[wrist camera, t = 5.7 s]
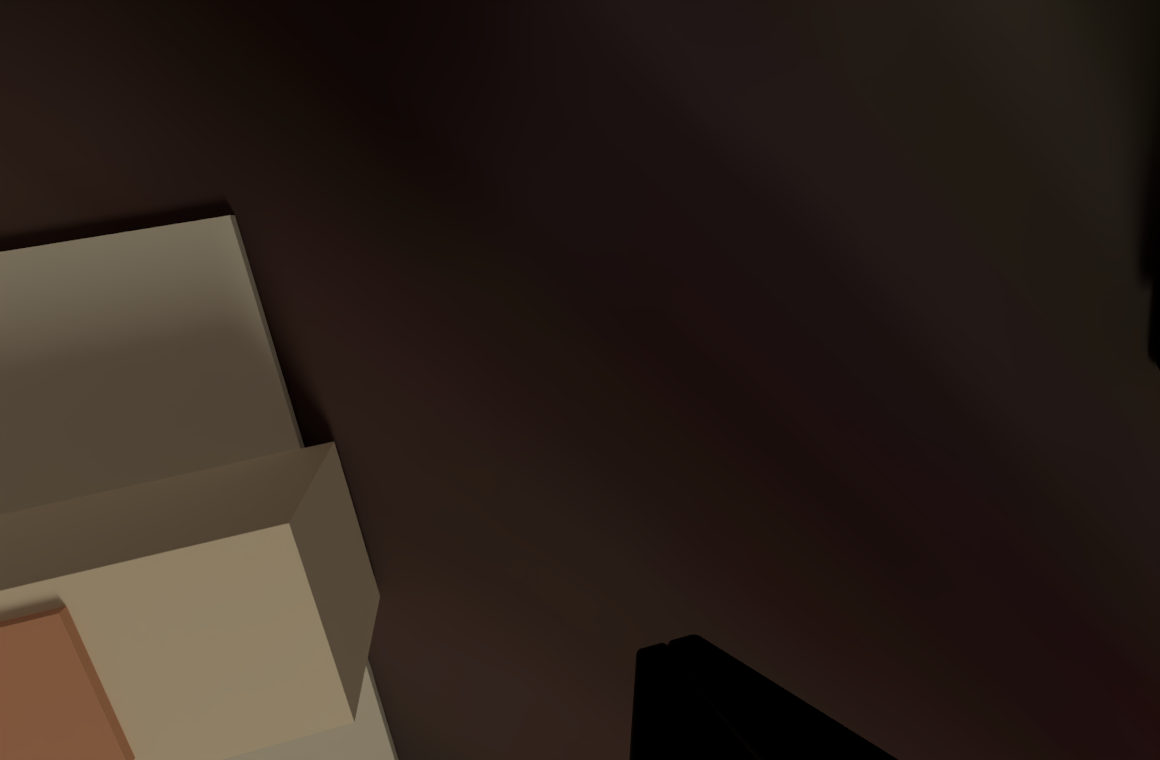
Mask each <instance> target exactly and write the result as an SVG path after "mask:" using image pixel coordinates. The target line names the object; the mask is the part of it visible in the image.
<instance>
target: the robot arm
mask: <svg viewBox="0 0 1160 760" xmlns="http://www.w3.org/2000/svg"><path fill="white" fill-rule="evenodd" d="M1157 365H1158V368H1159V369H1160V332H1159V343H1158V355H1157ZM630 760H898V759H896V758H895V757H893V756H891V755H890V754H888V753H887V752H885V751H883V750H882V749H880V748H878V747H877V746H875V745H874V744H872V743H870V742H869V741H867V740H866V739H864V738H862V737H861V736H859V735H858V734H856V733H854V732H853V731H851V730H850V729H848V728H846V727H845V726H843V725H842V724H840V723H838V722H837V721H835V720H834V719H832V718H830V717H829V716H827V715H826V714H824V713H822V712H821V711H819V710H818V709H816V708H814V707H813V706H811V705H810V704H808V703H806V702H805V701H803V700H801V699H800V698H798V697H797V696H795V695H793V694H792V693H790V692H789V691H787V690H785V689H784V688H782V687H781V686H779V685H777V684H776V683H774V682H773V681H771V680H769V679H768V678H766V677H765V676H763V675H761V674H760V673H758V672H757V671H755V670H753V669H752V668H750V667H749V666H747V665H745V664H744V663H742V662H741V661H739V660H737V659H736V658H734V657H733V656H731V655H729V654H728V653H726V652H725V651H723V650H721V649H720V648H718V647H716V646H715V645H713V644H712V643H710V642H708V641H707V640H705V639H704V638H702V637H700V636H698V635H695V634H694V635H689V636H685V637H681V638H678V639H674V640H671V641H670V642H669V643H668V646H667V645H666V644H664V643H659V644H656V645H652V646H649V647H645V648H641V649H639V650H638V651H637V654H636V669H635V684H634V699H633V714H632V729H631V744H630Z"/></svg>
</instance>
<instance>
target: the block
mask: <svg viewBox="0 0 1160 760" xmlns="http://www.w3.org/2000/svg"><path fill="white" fill-rule="evenodd" d="M379 598H380V595H379V592H378V588H377V585H376V581H375V578H374V575H373V571H372V568H371V564H370V561H369V558H368V554H367V551H366V547H365V544H364V541H363V537H362V534H361V531H360V527H359V524H358V520H357V517H356V514H355V510H354V507H353V503H352V500H351V497H350V493H349V490H348V487H347V483H346V480H345V476H344V473H343V470H342V466H341V463H340V459H339V456H338V453H337V449H336V446H335V442H329V443H325V444H320V445H315V446H311V447H306V448H302V449H297V450H293V451H288V452H283V453H279V454H274V455H270V456H265V457H261V458H256V459H252V460H247V461H242V462H238V463H233V464H229V465H224V466H220V467H215V468H211V469H206V470H201V471H197V472H192V473H188V474H183V475H179V476H174V477H170V478H165V479H160V480H156V481H151V482H147V483H142V484H138V485H133V486H128V487H124V488H119V489H115V490H110V491H106V492H101V493H97V494H92V495H87V496H83V497H78V498H74V499H69V500H65V501H60V502H56V503H51V504H46V505H42V506H37V507H33V508H28V509H24V510H19V511H15V512H10V513H5V514H1V515H0V760H223V759H226V758H230V757H233V756H237V755H240V754H244V753H247V752H251V751H255V750H258V749H262V748H265V747H269V746H272V745H276V744H280V743H283V742H287V741H290V740H294V739H297V738H301V737H305V736H308V735H312V734H315V733H319V732H322V731H326V730H329V729H333V728H337V727H340V726H344V725H347V724H351V723H354V722H355V717H356V712H357V707H358V702H359V698H360V693H361V688H362V683H363V678H364V673H365V668H366V663H367V658H368V653H369V648H370V643H371V638H372V633H373V628H374V623H375V618H376V613H377V608H378V603H379Z"/></svg>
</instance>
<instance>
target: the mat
mask: <svg viewBox="0 0 1160 760" xmlns="http://www.w3.org/2000/svg"><path fill="white" fill-rule="evenodd" d="M302 448H305V447H304V444H303V441H302V437H301V434H300V431H299V427H298V424H297V421H296V417H295V414H294V411H293V407H292V404H291V401H290V397H289V394H288V391H287V388H286V384H285V381H284V378H283V374H282V371H281V368H280V364H279V361H278V358H277V354H276V351H275V348H274V344H273V341H272V338H271V334H270V331H269V328H268V324H267V321H266V318H265V314H264V311H263V308H262V304H261V301H260V298H259V294H258V291H257V288H256V284H255V281H254V278H253V274H252V271H251V268H250V265H249V261H248V258H247V255H246V251H245V248H244V245H243V241H242V238H241V235H240V231H239V228H238V225H237V221H236V218H235V215H228V216H222V217H216V218H210V219H203V220H197V221H191V222H185V223H178V224H172V225H166V226H160V227H153V228H147V229H141V230H135V231H128V232H122V233H116V234H110V235H103V236H97V237H91V238H85V239H78V240H72V241H66V242H60V243H53V244H47V245H41V246H35V247H28V248H22V249H16V250H10V251H3V252H0V515H1V514H5V513H10V512H15V511H19V510H24V509H28V508H33V507H37V506H42V505H46V504H51V503H56V502H60V501H65V500H69V499H74V498H78V497H83V496H87V495H92V494H97V493H101V492H106V491H110V490H115V489H119V488H124V487H128V486H133V485H138V484H142V483H147V482H151V481H156V480H160V479H165V478H170V477H174V476H179V475H183V474H188V473H192V472H197V471H201V470H206V469H211V468H215V467H220V466H224V465H229V464H233V463H238V462H242V461H247V460H252V459H256V458H261V457H265V456H270V455H274V454H279V453H283V452H288V451H293V450H297V449H302ZM223 760H398V756H397V753H396V750H395V746H394V743H393V740H392V737H391V733H390V730H389V727H388V723H387V720H386V717H385V713H384V710H383V707H382V703H381V700H380V697H379V693H378V690H377V687H376V683H375V680H374V677H373V673H372V670H371V667H370V663H369V660H368V658H367V663H366V668H365V673H364V678H363V683H362V688H361V693H360V698H359V702H358V707H357V712H356V717H355V722H354V723H351V724H347V725H344V726H340V727H337V728H333V729H329V730H326V731H322V732H319V733H315V734H312V735H308V736H305V737H301V738H297V739H294V740H290V741H287V742H283V743H280V744H276V745H272V746H269V747H265V748H262V749H258V750H255V751H251V752H247V753H244V754H240V755H237V756H233V757H230V758H226V759H223Z"/></svg>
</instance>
